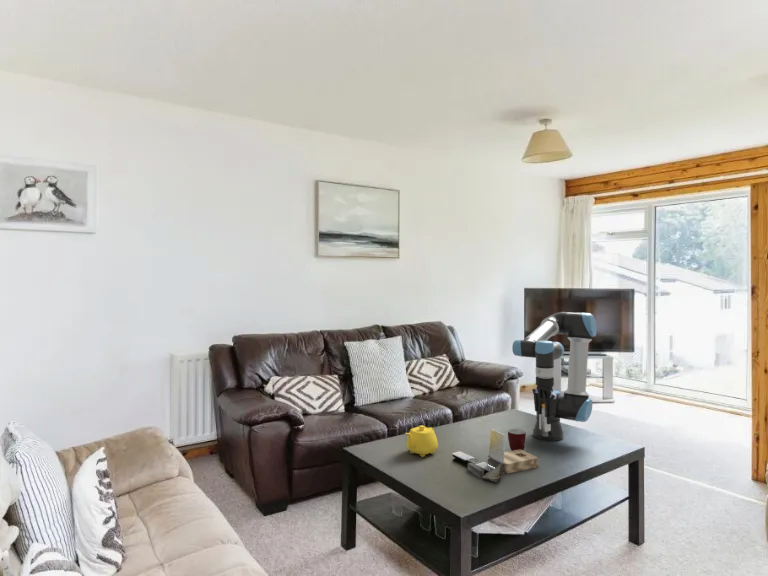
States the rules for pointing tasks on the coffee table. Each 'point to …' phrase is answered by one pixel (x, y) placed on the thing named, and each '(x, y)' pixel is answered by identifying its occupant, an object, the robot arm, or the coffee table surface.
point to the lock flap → (497, 446)
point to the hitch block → (509, 463)
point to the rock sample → (494, 474)
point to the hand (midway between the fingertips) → (544, 429)
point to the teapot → (422, 440)
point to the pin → (543, 421)
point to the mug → (516, 439)
